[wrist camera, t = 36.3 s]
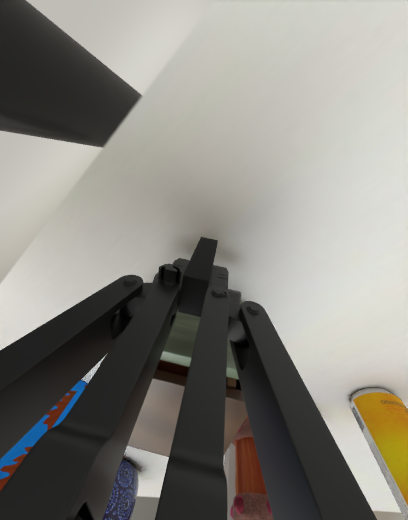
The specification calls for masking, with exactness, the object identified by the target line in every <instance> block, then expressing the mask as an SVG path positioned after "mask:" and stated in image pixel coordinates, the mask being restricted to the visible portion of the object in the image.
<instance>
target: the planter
mask: <svg viewBox="0 0 408 520" xmlns="http://www.w3.org/2000/svg"><path fill="white" fill-rule="evenodd" d="M137 492H138V474H137V471H136V468H135V467H134V466H133V464H132V463H130V462H129V461H127V460H125V459H123V458H122V460H121V463H120V465H119V468H118V471H117V474H116V477H115V481H114V485H113V489H112V493H111V496H110V499H109V502H108V505H107V508H106V511H105V513H104V516H103V519H102V520H131V517H132V513H133V509H134V505H135V501H136V497H137Z"/></svg>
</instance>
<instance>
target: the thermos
mask: <svg viewBox="0 0 408 520" xmlns="http://www.w3.org/2000/svg"><path fill="white" fill-rule="evenodd" d="M87 385H88V384H86V383H85V382H84V381H82V380H80V381H79V382H78V383H77V384H76V385H75V386H74V387H73V388H72V389H71V390H70V391H69V392H68V393H67V394H66V395H65V396H64V397H63V398H62V399H61V400H60V401H59V402H58V403H57V404H56V405H55V406H54V407H53V408H52V409H51V410H50V411H49V412H48V413H47V414H46V415H45V416H44V417H43V418H42V419H41V420H40V421H39V422H38V423H37V424H36V425H35V426H34V427H33V428H32V429H31V430H30V431H29V432H28V433H27V434H26V435H25V436H24V437H23V438H22V439H21V440H20V441H19V442H18V443H17V444H16V445H15V446H14V447H12V448H11V449H10V450H9V451H8V452H7V453H6V454H5V455H4V456H3V457H2V458H1V459H0V491H1V490H2V488H3V487H4V485H5V484H6V483H7V481H8V480H9V478H10V477H11V476H12V474H13V473H14V472H15V470H16V469H17V467H18V466H19V465H20V463H21V462H22V460H23V459H24V458H25V456H26V455H27V454H28V452H29V451H30V449H31V448H32V447H33V446H34V444H35V443H36V442H37V441H38V439H39V438H40V437H41V436H42V435H43V434H44V433H45V432H46V431H48V430H49V429H51V428H53V427H55V426H57V425H59V424H60V423H61V422H62V421H63V420H64V418H65V417H66V416H67V414H68V413H69V411H70V410H71V408H72V407H73V405H74V404H75V402H76V401H77V399H78V398H79V396H80V395H81V393H82V392H83V390H84V389H85V388H86V386H87Z"/></svg>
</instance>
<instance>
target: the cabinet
mask: <svg viewBox="0 0 408 520" xmlns="http://www.w3.org/2000/svg"><path fill="white" fill-rule="evenodd" d="M109 352H110V351H109ZM109 352H108V353H109ZM107 355H108V354H107ZM107 355H106V356H107ZM105 358H106V357H105ZM105 358H104V359H105ZM104 359H103V361H104ZM103 361H102V362H103ZM102 362H101V364H102ZM101 364H100V365H101ZM186 380H187V377H186V376H182V375H178V374H174V373H170V372H166V371H162V370H158V369H156V371H155V374H154V376H153V379H152V382H151V384H150V387H149V389H148V392H147V395H146V397H145V400H144V403H143V405H142V408H141V410H140V413H139V416H138V418H137V421H136V424H135V426H134V429H133V431H132V434H131V437H130V439H129V442H128V444H127V446H131V447H134V448H138V449H142V450H145V451H149V452H152V453H156V454H160V455H163V456H167V457H169V455H170V451H171V446H172V442H173V437H174V433H175V429H176V424H177V420H178V415H179V411H180V406H181V402H182V397H183V393H184V389H185V384H186ZM247 415H248V414H247V410H246V406H245V402H244V398H243V394H242V390H241V386H240V382H239V380H238V379H236V388H235V389H232V388H228V387H226V401H225V429H224V454H225V452H226V451H227V449H228V447H229V446H230V444H231V442H232V441H233V439H234V437H235V435H236V434H237V432H238V430H239V429H240V427H241V425H242V423H243V422H244V420H245V418H246V417H247Z"/></svg>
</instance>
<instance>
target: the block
mask: <svg viewBox="0 0 408 520" xmlns="http://www.w3.org/2000/svg"><path fill="white" fill-rule="evenodd" d="M158 370H162V371H166V372H170V373H174V374H178V375H182V376H186V377H187V375H188V371H189V367H187V366H183V365H179V364H175V363H171V362H167V361H164V360H160V361H159V363H158Z"/></svg>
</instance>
